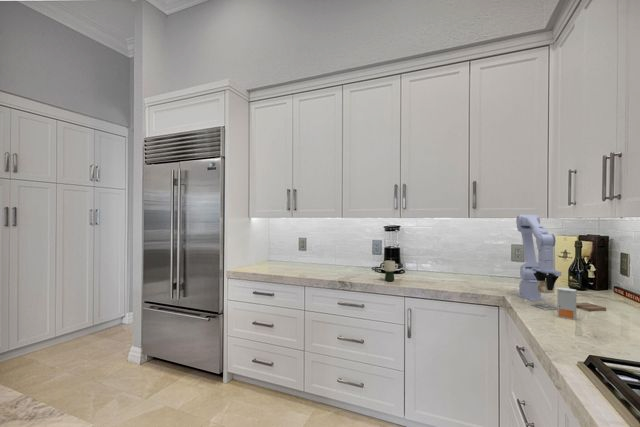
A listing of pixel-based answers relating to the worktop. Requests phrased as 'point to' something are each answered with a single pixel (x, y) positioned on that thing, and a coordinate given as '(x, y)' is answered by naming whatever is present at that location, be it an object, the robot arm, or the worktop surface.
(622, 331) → the worktop surface
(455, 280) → the worktop surface
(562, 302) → the skincare box
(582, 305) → the walnut board
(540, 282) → the birch block
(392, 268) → the character mug
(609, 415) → the worktop surface
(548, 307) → the slate tile
